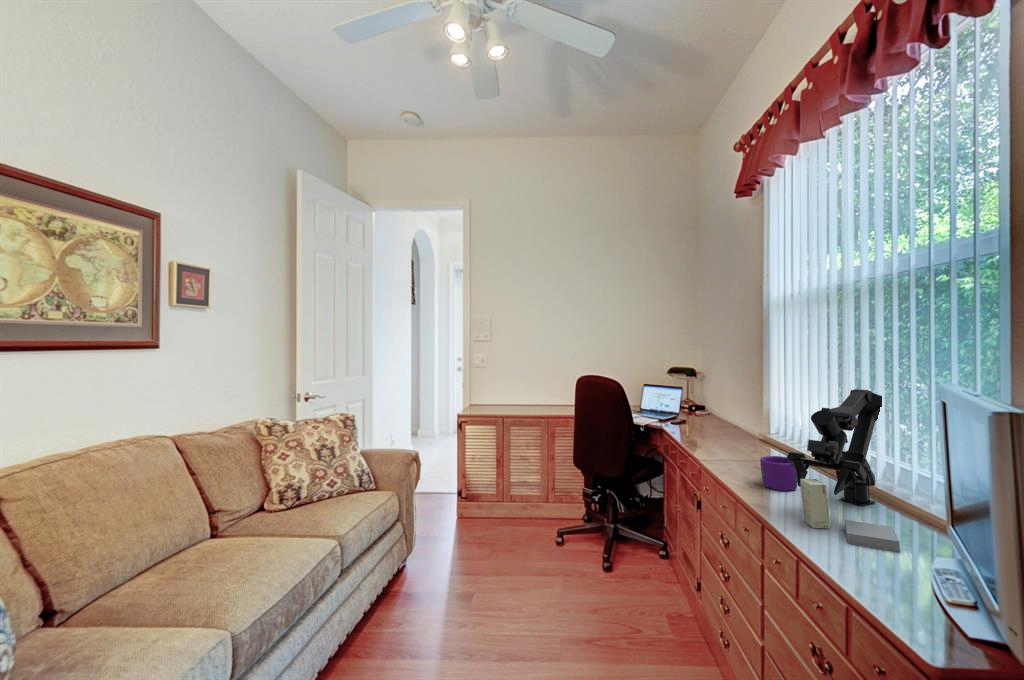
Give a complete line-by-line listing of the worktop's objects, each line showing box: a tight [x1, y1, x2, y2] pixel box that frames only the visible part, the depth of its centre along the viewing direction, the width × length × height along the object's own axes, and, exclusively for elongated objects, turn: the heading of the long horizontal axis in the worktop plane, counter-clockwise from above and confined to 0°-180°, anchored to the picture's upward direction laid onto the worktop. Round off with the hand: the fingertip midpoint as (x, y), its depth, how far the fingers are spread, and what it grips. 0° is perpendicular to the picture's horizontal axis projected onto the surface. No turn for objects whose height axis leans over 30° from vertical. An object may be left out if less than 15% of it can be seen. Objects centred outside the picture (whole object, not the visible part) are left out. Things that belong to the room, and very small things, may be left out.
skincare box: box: [800, 478, 831, 529], centre depth 122 cm, size 6×4×12 cm
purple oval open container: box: [760, 455, 798, 492], centre depth 157 cm, size 17×11×10 cm, turn 152°
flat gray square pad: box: [844, 519, 901, 553], centre depth 112 cm, size 10×10×3 cm
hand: (816, 489), depth 123 cm, fingers open, 9 cm apart
